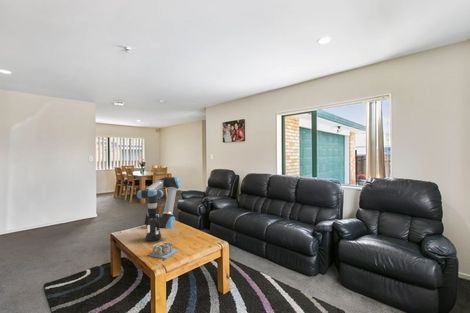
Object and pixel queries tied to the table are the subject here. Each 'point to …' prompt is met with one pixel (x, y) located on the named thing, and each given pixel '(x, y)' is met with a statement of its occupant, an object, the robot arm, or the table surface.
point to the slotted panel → (159, 248)
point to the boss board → (167, 252)
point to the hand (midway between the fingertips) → (152, 233)
